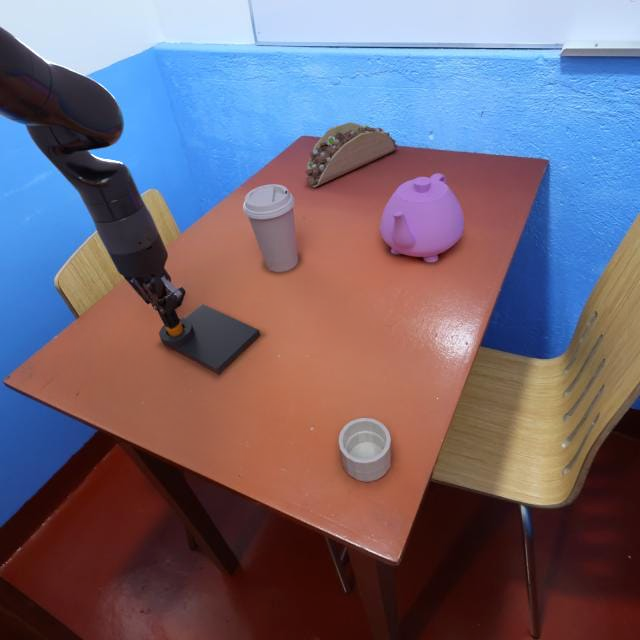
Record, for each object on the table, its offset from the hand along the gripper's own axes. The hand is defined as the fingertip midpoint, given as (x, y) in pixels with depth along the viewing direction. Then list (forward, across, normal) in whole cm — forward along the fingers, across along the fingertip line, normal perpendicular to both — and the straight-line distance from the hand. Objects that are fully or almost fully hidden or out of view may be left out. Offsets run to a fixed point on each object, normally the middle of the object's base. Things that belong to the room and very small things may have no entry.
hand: (173, 324), depth 78 cm
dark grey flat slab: (+4, +4, +3) cm, 7 cm away
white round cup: (+4, +39, -3) cm, 40 cm away
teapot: (+4, +24, +42) cm, 48 cm away
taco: (+4, -8, +66) cm, 67 cm away
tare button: (+2, 0, 0) cm, 2 cm away
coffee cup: (+4, +2, +26) cm, 26 cm away
